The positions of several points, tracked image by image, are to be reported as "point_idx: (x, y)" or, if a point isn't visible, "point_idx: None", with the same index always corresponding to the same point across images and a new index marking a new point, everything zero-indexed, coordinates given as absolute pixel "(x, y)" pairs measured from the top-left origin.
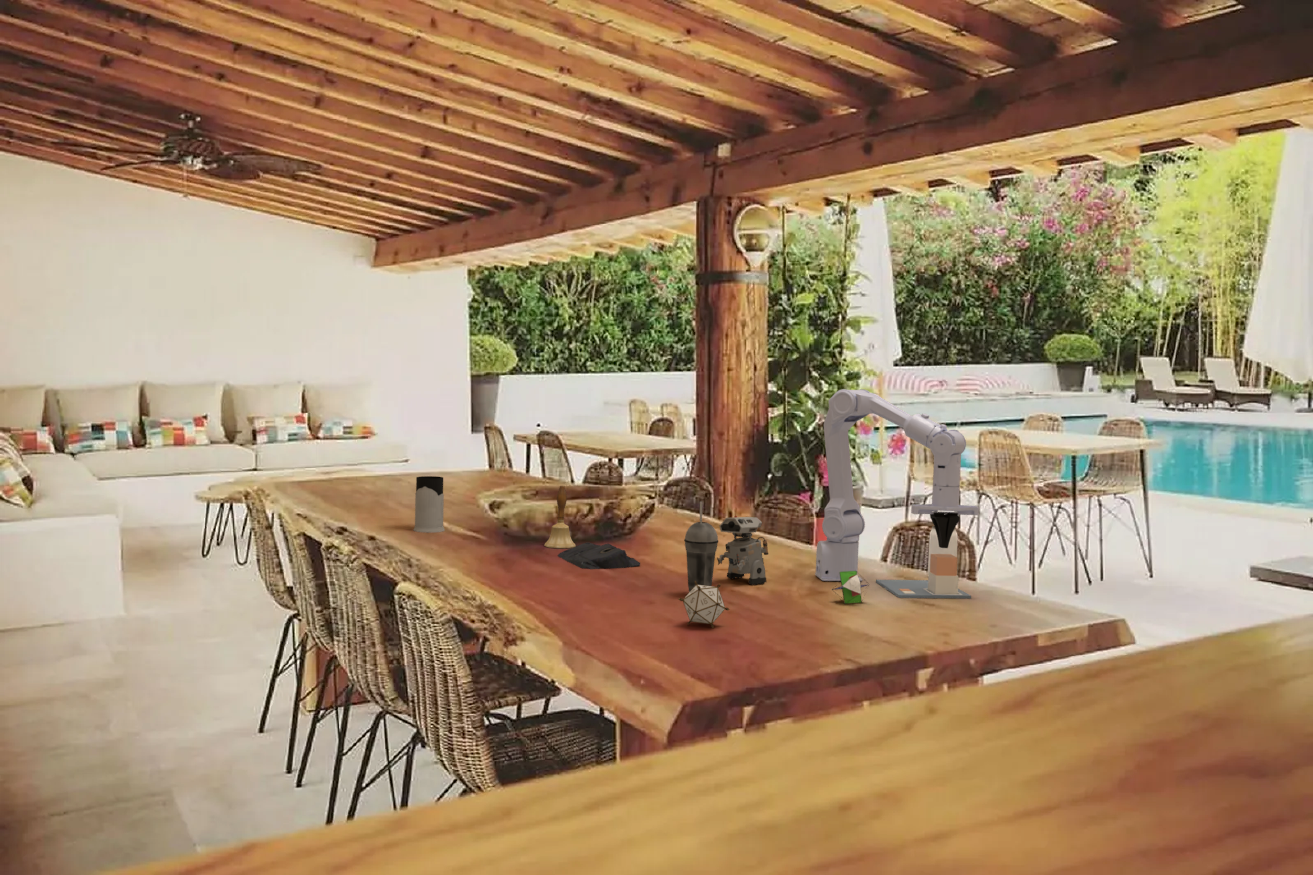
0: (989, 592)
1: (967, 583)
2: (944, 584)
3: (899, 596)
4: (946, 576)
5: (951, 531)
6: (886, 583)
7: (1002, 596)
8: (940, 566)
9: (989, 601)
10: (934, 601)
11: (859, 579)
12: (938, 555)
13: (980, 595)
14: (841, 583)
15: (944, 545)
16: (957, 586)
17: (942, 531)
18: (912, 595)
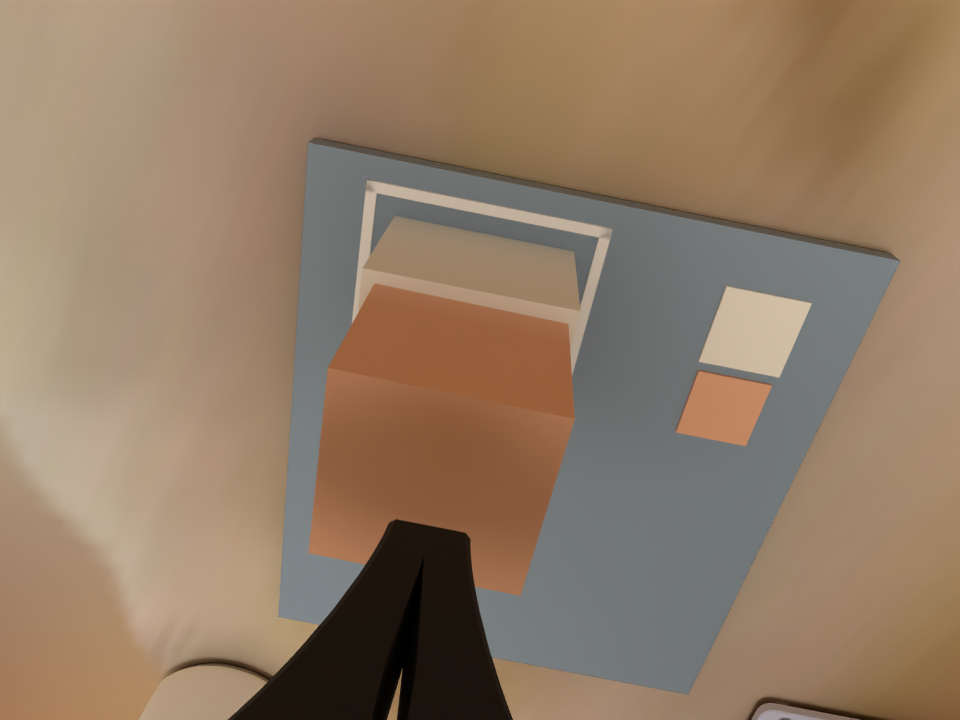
0: (85, 328)
1: (138, 575)
2: (500, 263)
3: (891, 255)
4: (478, 290)
5: (304, 680)
6: (698, 603)
7: (30, 184)
8: (530, 358)
9: (204, 4)
10: (687, 76)
11: (784, 713)
12: (490, 507)
13: (189, 243)
14: None
15: (438, 544)
16: (387, 235)
17: (475, 709)
18: (790, 238)
